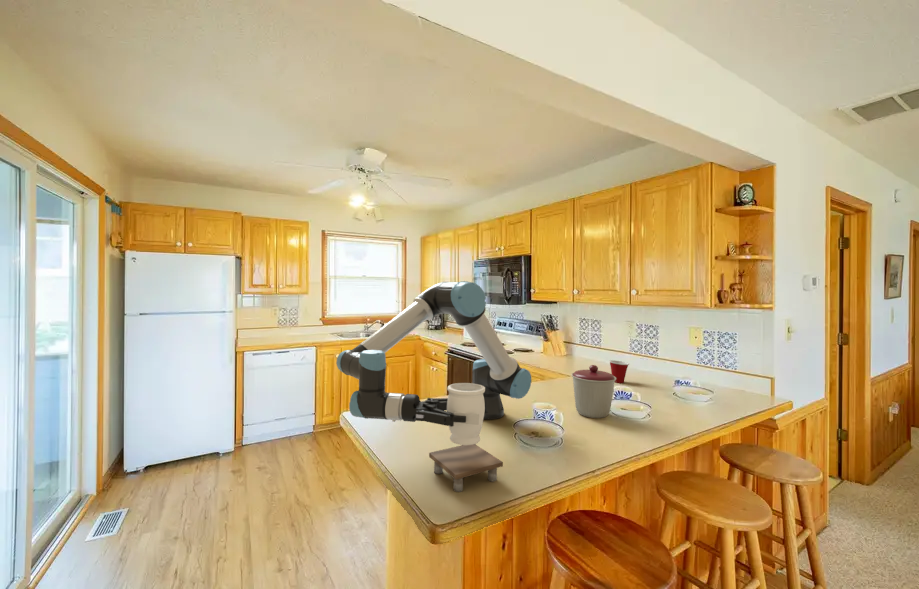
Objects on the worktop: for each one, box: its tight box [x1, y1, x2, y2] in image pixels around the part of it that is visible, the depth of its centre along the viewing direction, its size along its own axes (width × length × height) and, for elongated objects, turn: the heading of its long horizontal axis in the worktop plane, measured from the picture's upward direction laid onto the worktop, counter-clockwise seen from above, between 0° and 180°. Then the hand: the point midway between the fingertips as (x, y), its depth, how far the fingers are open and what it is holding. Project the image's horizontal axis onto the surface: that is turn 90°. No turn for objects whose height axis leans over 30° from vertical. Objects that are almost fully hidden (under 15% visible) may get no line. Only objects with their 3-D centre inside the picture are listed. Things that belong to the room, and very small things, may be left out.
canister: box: [570, 364, 616, 419], centre depth 163 cm, size 18×18×21 cm
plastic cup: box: [608, 359, 630, 384], centre depth 222 cm, size 11×11×12 cm
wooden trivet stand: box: [428, 443, 504, 493], centre depth 108 cm, size 15×15×5 cm
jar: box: [446, 382, 485, 446], centre depth 107 cm, size 11×10×15 cm
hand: (480, 412), depth 107 cm, fingers closed on jar, 10 cm apart
